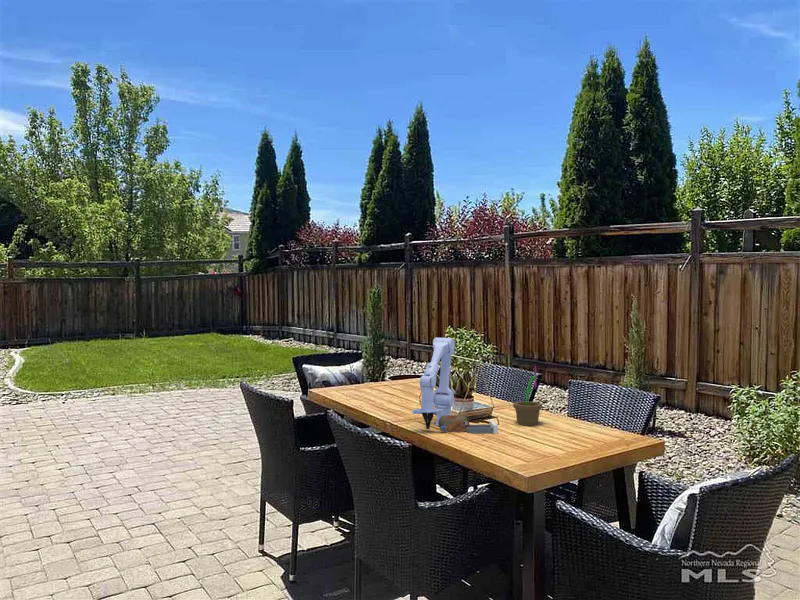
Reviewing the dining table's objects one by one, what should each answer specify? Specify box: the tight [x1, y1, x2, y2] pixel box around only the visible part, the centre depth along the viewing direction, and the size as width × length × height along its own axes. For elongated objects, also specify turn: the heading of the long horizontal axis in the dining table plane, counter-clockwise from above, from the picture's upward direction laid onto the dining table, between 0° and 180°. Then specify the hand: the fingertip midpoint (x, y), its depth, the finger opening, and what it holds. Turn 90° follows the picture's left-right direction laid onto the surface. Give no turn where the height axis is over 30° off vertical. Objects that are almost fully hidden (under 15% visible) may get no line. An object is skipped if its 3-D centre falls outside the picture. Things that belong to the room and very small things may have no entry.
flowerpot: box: [512, 365, 543, 427], centre depth 300 cm, size 14×14×30 cm
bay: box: [466, 420, 499, 435], centre depth 284 cm, size 10×14×4 cm
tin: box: [438, 414, 470, 434], centre depth 283 cm, size 15×3×8 cm, turn 101°
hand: (427, 428), depth 283 cm, fingers closed
